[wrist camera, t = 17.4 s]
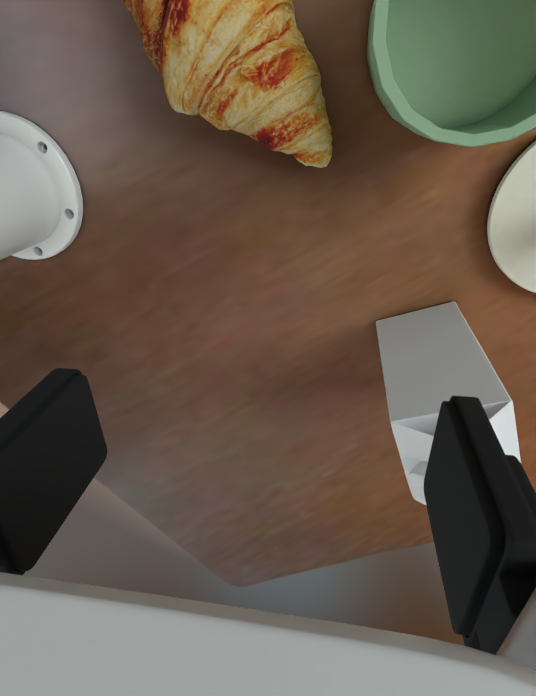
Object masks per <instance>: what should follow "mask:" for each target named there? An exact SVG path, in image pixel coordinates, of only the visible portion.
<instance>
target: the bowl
mask: <svg viewBox="0 0 536 696" xmlns="http://www.w3.org/2000/svg"><path fill="white" fill-rule="evenodd" d="M366 56H367V62H368V67H369V71H370V76H371V80H372V83H373V88H374V91H375V93H376V95H377V96H378V98H379V99H380V101H381V103H382V104H383V106H384V107H385V109H386V110H387V111H388V113H389V114H390V116H391V117H392V118H393V119H394V120H396V121H397V122H399V123H400V124H402V125H403V126H404V127H406V128H408V129H409V130H411V131H412V132H414V133H415V134H417V135H420V136H423V137H426V138H428V139H431V140H434V141H438V142H444V143H449V144H455V145H460V146H466V147H476V146H481V145H487V144H492V143H497V142H503V141H508V140H511V139H514V138H516V137H518V136H520V135H522V134H523V133H525V132H527V131H529V130H531V129H533V128H535V127H536V0H374V3H373V6H372V10H371V13H370V17H369V29H368V39H367V55H366Z"/></svg>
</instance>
